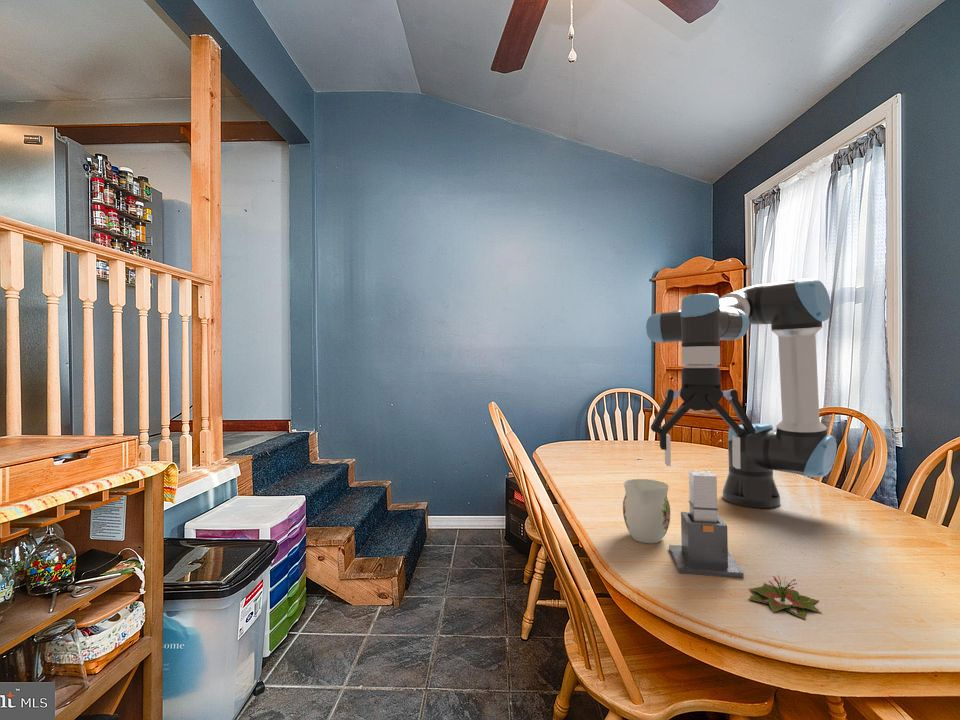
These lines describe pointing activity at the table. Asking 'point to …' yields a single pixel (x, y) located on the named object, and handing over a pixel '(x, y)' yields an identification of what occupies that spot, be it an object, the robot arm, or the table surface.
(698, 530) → the stand
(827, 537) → the table surface
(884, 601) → the table surface
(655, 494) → the pitcher
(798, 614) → the lily flower
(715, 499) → the column
